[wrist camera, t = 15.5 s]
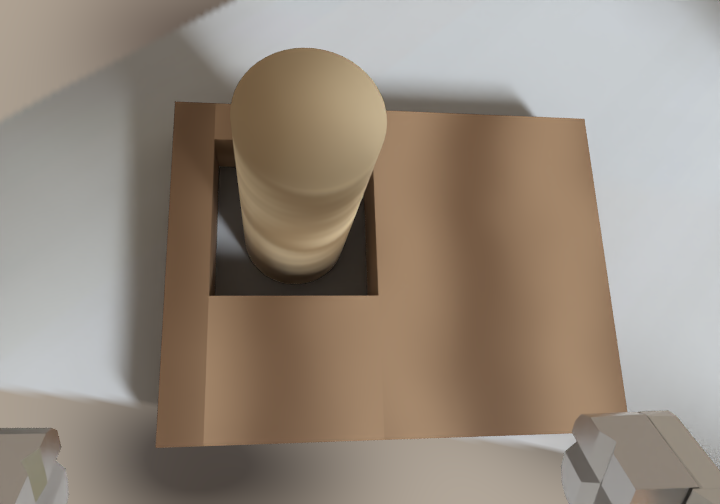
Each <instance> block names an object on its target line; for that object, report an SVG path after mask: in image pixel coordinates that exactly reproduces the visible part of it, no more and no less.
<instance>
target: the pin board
mask: <svg viewBox="0 0 720 504" xmlns="http://www.w3.org/2000/svg"><path fill="white" fill-rule="evenodd" d="M230 107H231V104H219V103H196V102H175V113H174V131H173V148H172V166H171V184H170V202H169V219H168V237H167V255H166V273H165V290H164V308H163V326H162V344H161V361H160V379H159V397H158V415H157V432H156V448H163V447H189V446H191V447H192V446H220V445H249V444H278V443H306V442H335V441H362V440H392V439H418V438H419V439H421V438H449V437H478V436H506V435H535V434H564V433H572V429H573V426H574V423H575V420H576V419H577V418H578V417H579V416H580V415H581V414H591V413H620V412H627V406H626V399H625V393H624V386H623V379H622V372H621V365H620V359H619V352H618V345H617V338H616V331H615V325H614V318H613V311H612V304H611V297H610V290H609V284H608V277H607V270H606V263H605V256H604V250H603V243H602V236H601V229H600V222H599V216H598V209H597V202H596V195H595V188H594V182H593V175H592V168H591V161H590V154H589V147H588V141H587V134H586V127H585V120H584V119H573V118H550V117H526V116H502V115H479V114H455V113H432V112H408V111H386V114H387V129H386V135H385V139H384V142H383V145H382V148H381V150H380V153H379V155H378V158H377V161H376V163H375V166H374V168H373V171H372V174H371V176H370V179H369V181H368V184H367V187H366V189H365V192H364V213H365V241H366V268H367V296H215V278H216V248H217V218H218V188H219V166H220V167H236V162H235V154H234V146H233V138H232V129H231V121H230Z"/></svg>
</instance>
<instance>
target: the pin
mask: <svg viewBox="0 0 720 504" xmlns="http://www.w3.org/2000/svg"><path fill="white" fill-rule="evenodd" d="M230 121H231V129H232V138H233V146H234V154H235V162H236V171H237V179H238V187H239V195H240V203H241V212H242V220H243V228H244V236H245V244H246V249H247V252H248V254H249V257H250V259H251V260H252V262H253V263H254V265H255V266H256V267H257V268H258V269H259V270H260V271H261V272H262V273H263V274H265V275H266V276H267V277H269V278H271V279H273V280H275V281H278V282H281V283H285V284H304V283H308V282H312V281H314V280H317V279H319V278H320V277H322V276H324V275H325V274H326V273H328V272H329V271H330V270H331V269H332V268H333V266H334V265H335V264H336V262H337V261H338V259H339V257H340V254H341V252H342V249H343V247H344V244H345V241H346V239H347V236H348V234H349V231H350V228H351V226H352V223H353V221H354V218H355V215H356V213H357V210H358V208H359V205H360V202H361V200H362V197H363V194H364V192H365V189H366V187H367V184H368V181H369V179H370V176H371V174H372V171H373V168H374V166H375V163H376V161H377V158H378V155H379V153H380V150H381V148H382V145H383V142H384V139H385V135H386V129H387V114H386V109H385V104H384V101H383V98H382V96H381V94H380V92H379V90H378V88H377V86H376V85H375V83H374V82H373V81H372V79H371V78H370V77H369V76H368V75H367V74H366V73H365V72H364V71H363V70H362V69H361V68H360V67H359V66H357V65H356V64H354V63H353V62H352V61H350V60H348V59H346V58H344V57H343V56H340V55H338V54H335V53H333V52H329V51H326V50H321V49H315V48H294V49H288V50H283V51H280V52H277V53H274V54H272V55H270V56H267V57H265V58H264V59H262V60H260V61H259V62H257V63H256V64H255V65H254V66H252V67H251V68H250V69H249V70H248V71H247V72H246V73H245V75H244V76H243V77H242V79H241V80H240V82H239V83H238V85H237V87H236V89H235V91H234V94H233V98H232V102H231V107H230Z"/></svg>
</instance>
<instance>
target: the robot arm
mask: <svg viewBox="0 0 720 504" xmlns="http://www.w3.org/2000/svg"><path fill="white" fill-rule="evenodd" d="M572 433H573V435H574V437H575V439H576V440H577V442H576V443H574V444H573V445H572V446H571V447H570V448H569V449H568V450H566V451H565V454H564V458H563V462H562V465H561V473H562V485H563V489H564V492H565V496H566V498H567V500H568V503H569V504H720V470H719V469H718V468H717V467H716V465H715V464H714V463H713V462H712V460H711V459H710V458H709V456H708V455H707V454H706V453H705V451H704V450H703V449H702V448H701V446H700V445H699V444H698V443H697V441H696V440H695V439H694V438H693V436H692V435H691V434H690V433H689V431H688V430H687V429H686V428H685V426H684V425H683V424H682V422H681V421H680V420H679V419H678V417H677V416H676V415H674V414H673V413H671V412H669V411H642V412H620V413H591V414H581V415H580V416H579V417H578V418H577V419H576V420H575V423H574V426H573V429H572ZM60 449H61V444H60V440H59V436H58V432H57V430H55V429H53V428H0V504H67V501H68V478H67V473H66V469H65V468H64V467H63V466H62V465H60V464H59V463H58V462H57V461H56V459H57V457H58V454H59V452H60Z"/></svg>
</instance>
